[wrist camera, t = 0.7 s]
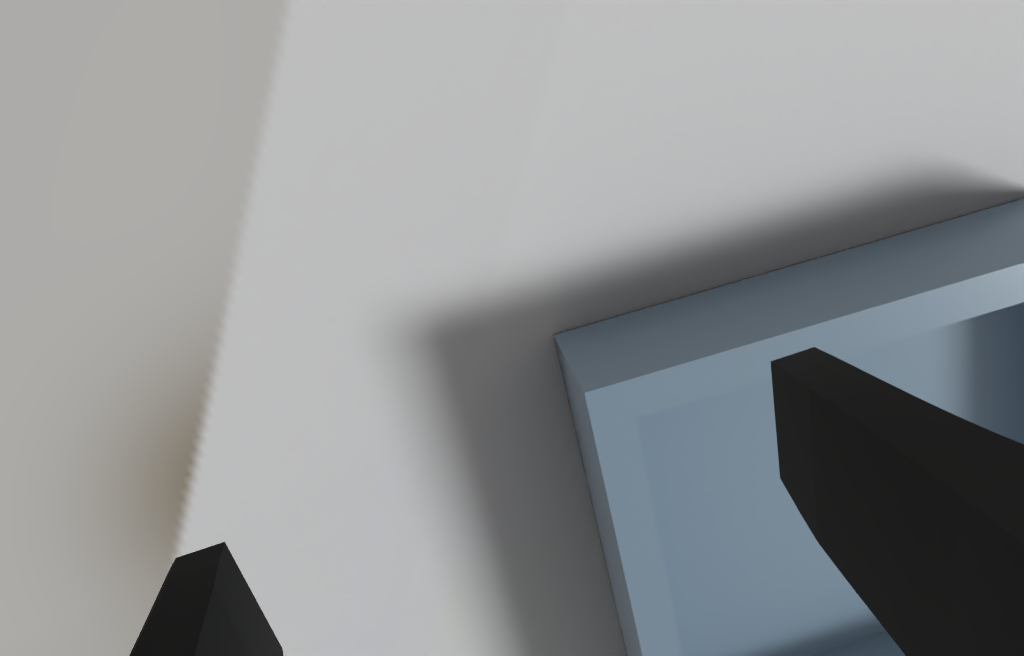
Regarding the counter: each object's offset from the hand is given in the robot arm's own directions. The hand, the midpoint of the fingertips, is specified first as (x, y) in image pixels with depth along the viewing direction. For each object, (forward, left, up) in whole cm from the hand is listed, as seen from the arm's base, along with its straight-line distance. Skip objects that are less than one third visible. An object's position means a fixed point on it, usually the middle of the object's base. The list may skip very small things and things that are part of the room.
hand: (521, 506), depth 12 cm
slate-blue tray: (-10, -9, -11) cm, 17 cm away
